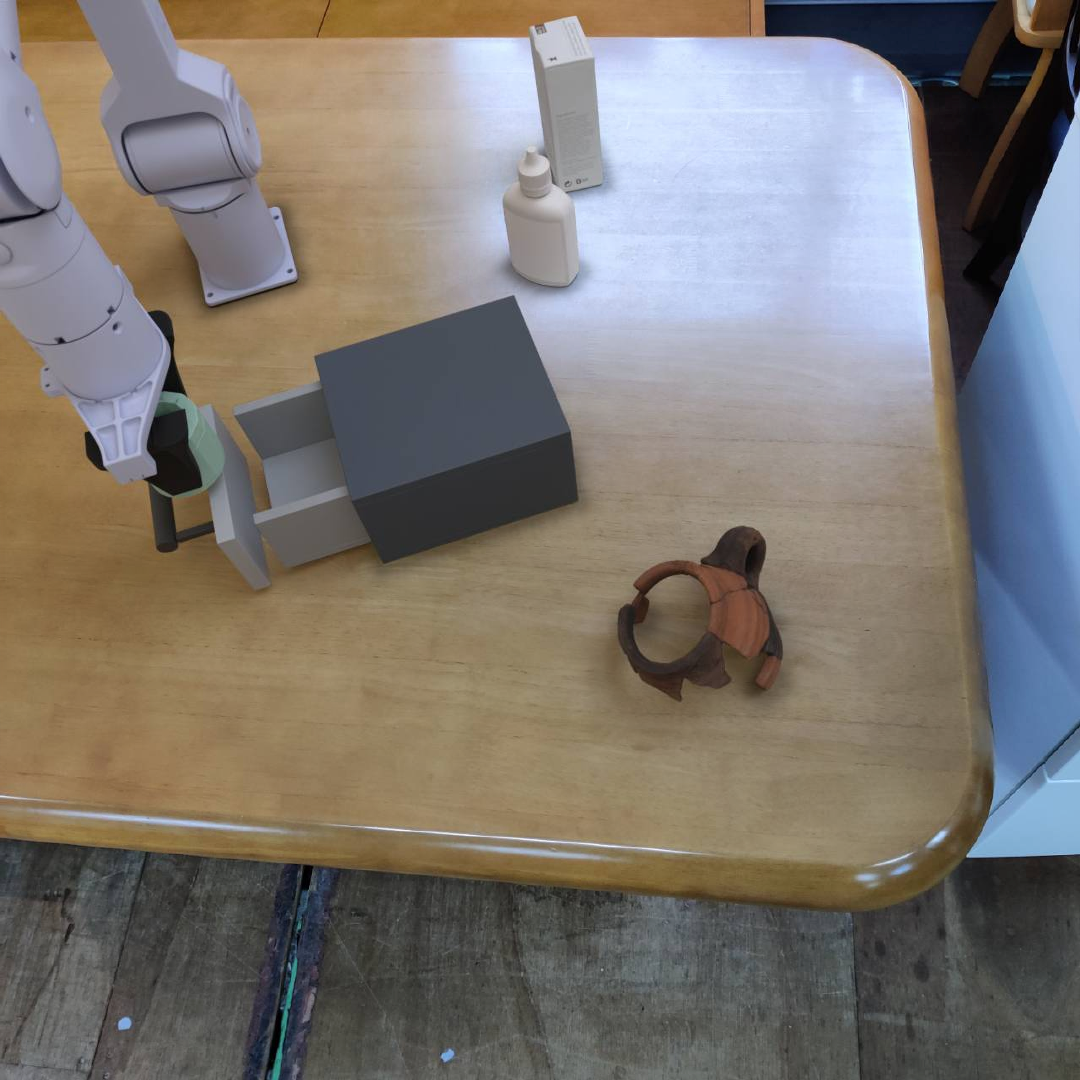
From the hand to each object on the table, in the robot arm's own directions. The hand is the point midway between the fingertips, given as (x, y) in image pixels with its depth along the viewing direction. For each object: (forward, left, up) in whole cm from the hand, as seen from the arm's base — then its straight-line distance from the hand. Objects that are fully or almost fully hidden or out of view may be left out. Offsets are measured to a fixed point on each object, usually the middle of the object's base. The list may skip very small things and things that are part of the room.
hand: (181, 452), depth 61 cm
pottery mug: (+19, +29, -11) cm, 36 cm away
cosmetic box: (-27, +35, -11) cm, 45 cm away
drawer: (0, +5, -9) cm, 11 cm away
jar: (0, 0, -1) cm, 1 cm away
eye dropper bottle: (-16, +29, -11) cm, 34 cm away
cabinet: (0, +17, -10) cm, 20 cm away
